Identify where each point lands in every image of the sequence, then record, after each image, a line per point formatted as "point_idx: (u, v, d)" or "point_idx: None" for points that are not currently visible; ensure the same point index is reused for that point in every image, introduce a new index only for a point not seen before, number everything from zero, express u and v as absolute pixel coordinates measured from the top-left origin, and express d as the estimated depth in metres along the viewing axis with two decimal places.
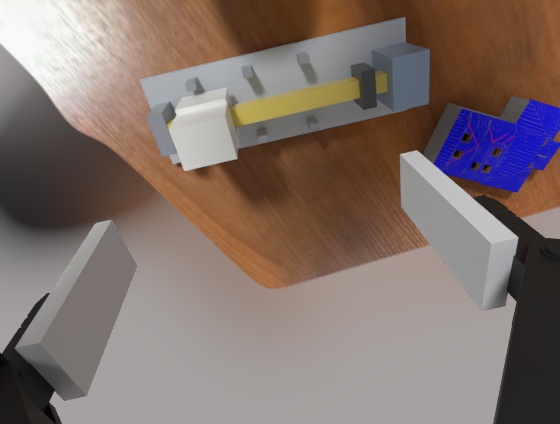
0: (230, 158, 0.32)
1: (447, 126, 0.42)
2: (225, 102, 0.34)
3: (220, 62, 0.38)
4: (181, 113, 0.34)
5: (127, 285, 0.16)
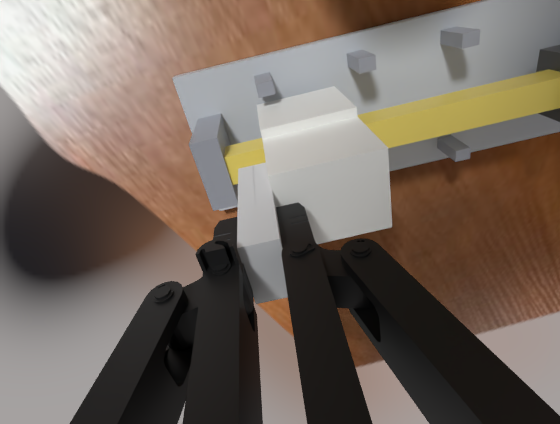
0: (379, 226, 0.16)
1: None
2: (355, 114, 0.18)
3: (311, 46, 0.22)
4: (272, 136, 0.18)
5: None
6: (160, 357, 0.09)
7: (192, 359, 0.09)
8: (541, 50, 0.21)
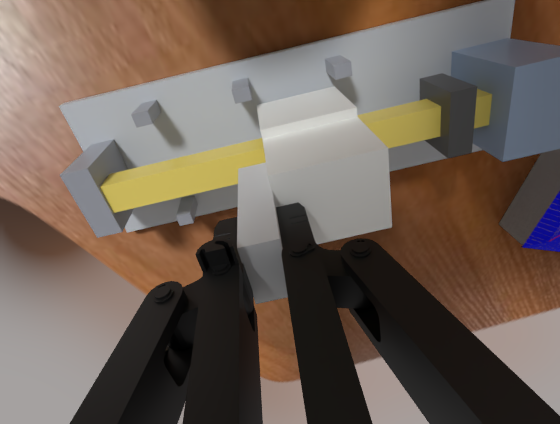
0: (379, 226, 0.16)
1: (551, 182, 0.27)
2: (355, 115, 0.18)
3: (196, 74, 0.22)
4: (272, 136, 0.18)
5: None
6: (160, 357, 0.09)
7: (192, 359, 0.09)
8: (420, 79, 0.22)
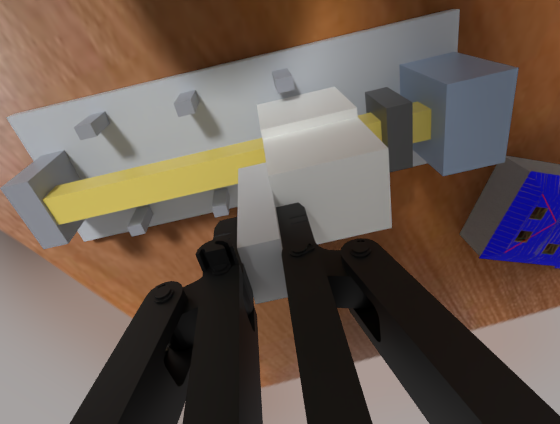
0: (379, 227, 0.16)
1: (504, 194, 0.27)
2: (355, 115, 0.18)
3: (143, 87, 0.22)
4: (272, 136, 0.18)
5: None
6: (160, 357, 0.09)
7: (192, 359, 0.09)
8: (365, 93, 0.22)
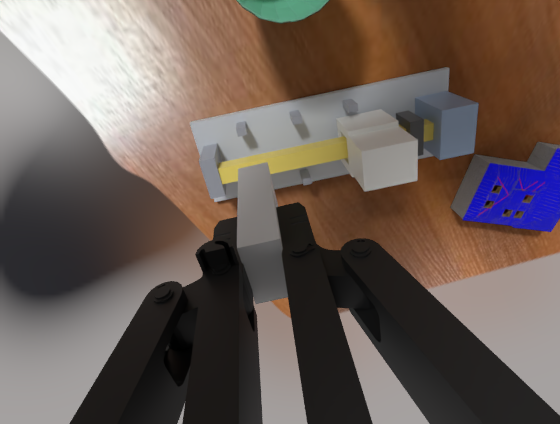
0: (411, 180, 0.33)
1: (476, 178, 0.44)
2: (397, 125, 0.35)
3: (269, 107, 0.39)
4: (353, 134, 0.35)
5: None
6: (160, 357, 0.09)
7: (192, 359, 0.09)
8: (396, 113, 0.38)
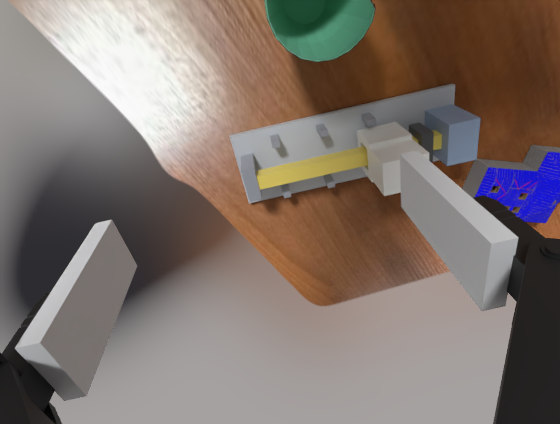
0: None
1: (477, 180, 0.50)
2: (411, 137, 0.41)
3: (298, 122, 0.45)
4: (373, 147, 0.41)
5: (127, 285, 0.16)
6: None
7: None
8: (409, 125, 0.44)
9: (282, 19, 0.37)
